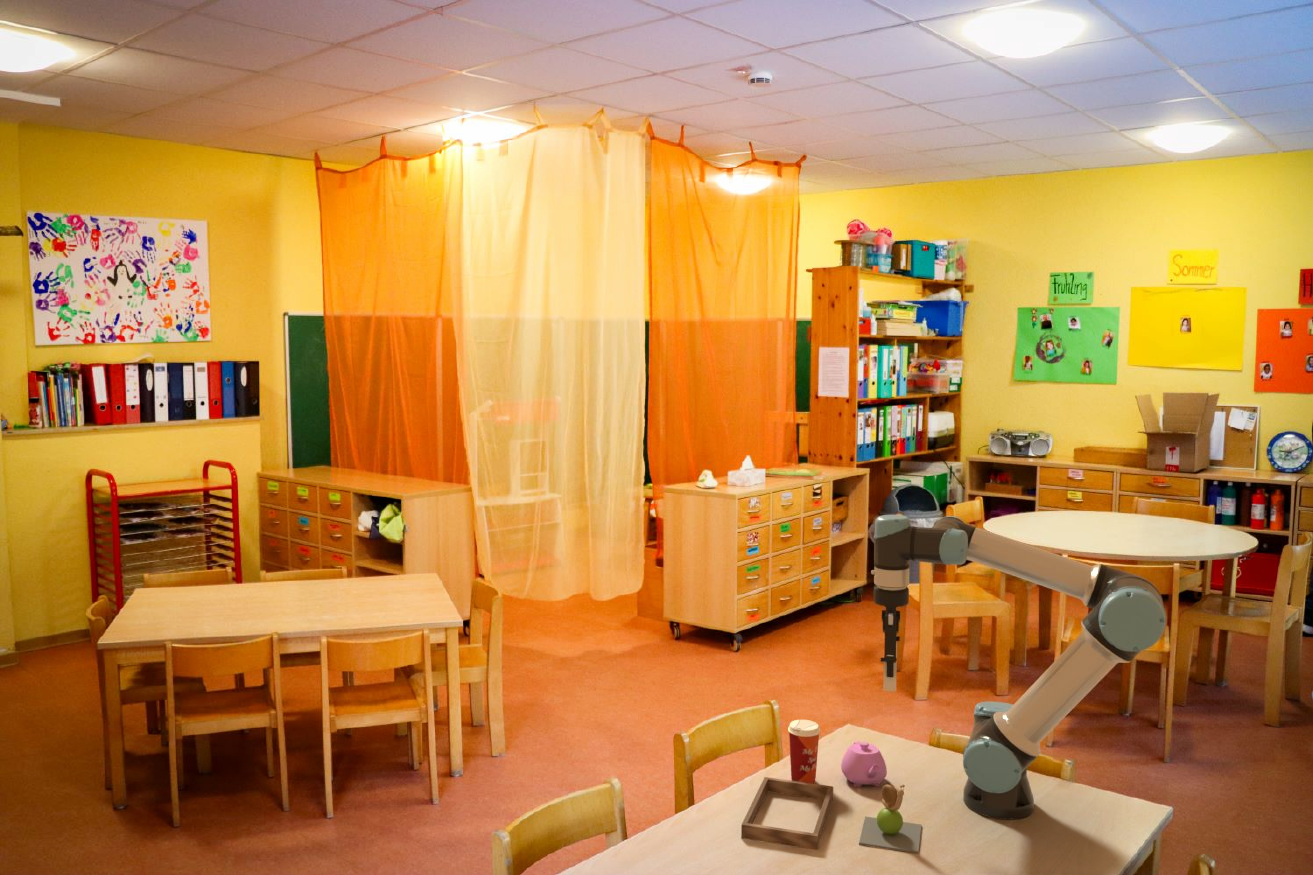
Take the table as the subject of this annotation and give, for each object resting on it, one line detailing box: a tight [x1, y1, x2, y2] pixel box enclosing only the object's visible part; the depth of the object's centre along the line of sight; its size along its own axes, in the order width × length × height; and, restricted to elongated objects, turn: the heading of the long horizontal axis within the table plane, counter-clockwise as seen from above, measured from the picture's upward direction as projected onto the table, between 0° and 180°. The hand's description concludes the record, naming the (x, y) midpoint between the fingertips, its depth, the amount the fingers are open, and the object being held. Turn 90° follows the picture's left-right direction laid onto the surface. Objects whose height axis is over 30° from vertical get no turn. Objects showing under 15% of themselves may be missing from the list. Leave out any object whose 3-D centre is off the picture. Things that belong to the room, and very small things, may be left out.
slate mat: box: [858, 816, 922, 854], centre depth 212 cm, size 12×12×1 cm
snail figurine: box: [876, 784, 906, 835], centre depth 211 cm, size 5×6×12 cm
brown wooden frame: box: [740, 776, 834, 851], centre depth 220 cm, size 16×24×3 cm, turn 162°
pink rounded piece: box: [840, 740, 888, 788], centre depth 237 cm, size 10×15×9 cm
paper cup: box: [787, 719, 821, 784], centre depth 237 cm, size 8×8×14 cm
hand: (890, 680), depth 221 cm, fingers open, 13 cm apart
